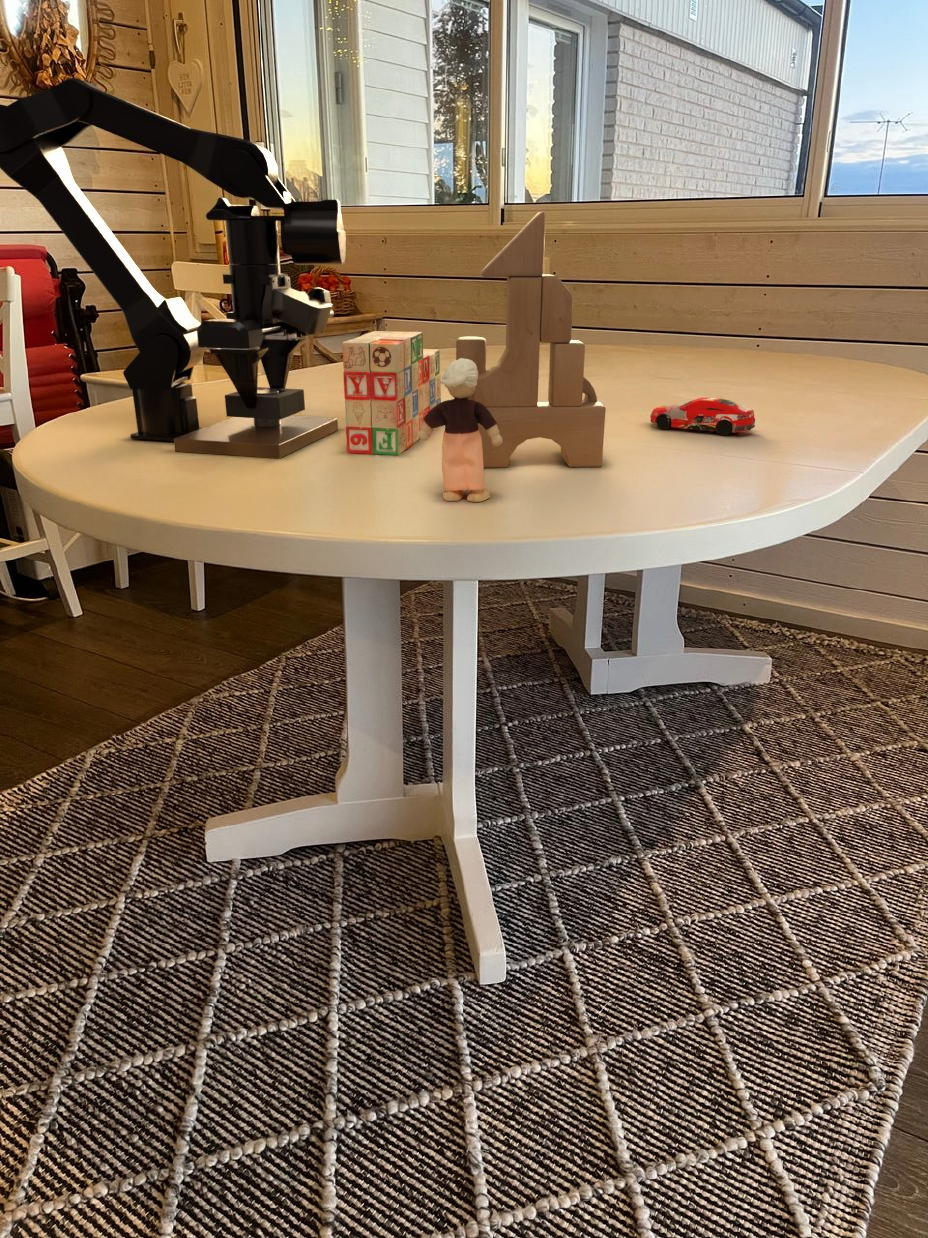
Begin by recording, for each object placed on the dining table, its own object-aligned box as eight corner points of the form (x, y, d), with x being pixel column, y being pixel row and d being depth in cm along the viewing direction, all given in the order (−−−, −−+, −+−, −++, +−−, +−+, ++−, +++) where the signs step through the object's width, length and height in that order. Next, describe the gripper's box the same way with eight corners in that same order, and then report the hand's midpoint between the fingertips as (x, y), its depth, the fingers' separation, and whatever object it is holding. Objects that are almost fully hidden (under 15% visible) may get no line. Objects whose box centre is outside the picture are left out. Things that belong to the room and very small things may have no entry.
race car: (643, 428, 118) (645, 397, 117) (657, 421, 123) (659, 391, 121) (746, 438, 112) (750, 405, 111) (757, 431, 117) (761, 399, 115)
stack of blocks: (396, 419, 123) (394, 323, 118) (441, 421, 122) (441, 324, 117) (346, 453, 104) (341, 340, 99) (399, 455, 102) (396, 341, 98)
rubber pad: (226, 416, 108) (224, 395, 107) (253, 407, 115) (252, 386, 114) (280, 419, 107) (279, 397, 106) (305, 409, 113) (304, 389, 112)
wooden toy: (590, 453, 104) (605, 213, 94) (602, 467, 98) (618, 211, 88) (455, 454, 103) (455, 212, 94) (458, 468, 97) (458, 210, 87)
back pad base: (174, 451, 104) (169, 402, 102) (245, 424, 119) (241, 381, 117) (279, 458, 101) (275, 408, 99) (338, 430, 116) (336, 385, 114)
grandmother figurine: (499, 492, 88) (502, 355, 83) (502, 502, 84) (504, 361, 79) (419, 492, 88) (417, 355, 83) (418, 503, 84) (416, 360, 79)
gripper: (284, 267, 94) (294, 420, 100) (351, 263, 111) (356, 394, 117) (187, 266, 97) (202, 415, 103) (266, 262, 113) (275, 390, 119)
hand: (265, 403), depth 110 cm, fingers closed on rubber pad, 7 cm apart
